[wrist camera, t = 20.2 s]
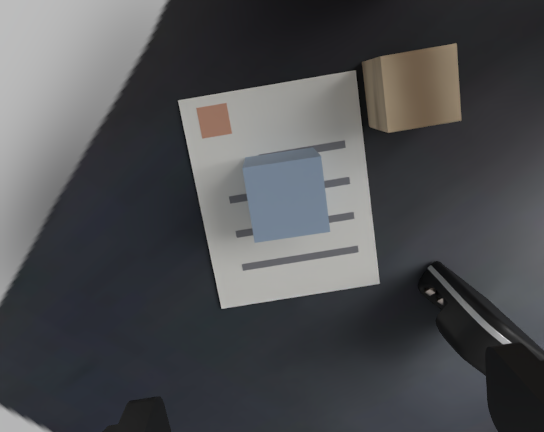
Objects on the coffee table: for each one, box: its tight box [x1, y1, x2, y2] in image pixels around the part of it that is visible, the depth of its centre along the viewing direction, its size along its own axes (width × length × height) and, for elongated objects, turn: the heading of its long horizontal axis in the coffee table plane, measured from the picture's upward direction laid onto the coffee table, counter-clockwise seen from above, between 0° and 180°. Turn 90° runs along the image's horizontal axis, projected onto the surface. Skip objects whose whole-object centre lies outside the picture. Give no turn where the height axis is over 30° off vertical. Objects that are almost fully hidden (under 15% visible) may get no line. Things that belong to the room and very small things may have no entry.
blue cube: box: [242, 147, 330, 243], centre depth 36 cm, size 6×6×6 cm
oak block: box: [362, 43, 461, 133], centre depth 34 cm, size 5×5×6 cm
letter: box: [178, 70, 380, 309], centre depth 39 cm, size 14×18×1 cm
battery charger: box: [418, 261, 544, 376], centre depth 36 cm, size 7×4×11 cm, turn 52°
